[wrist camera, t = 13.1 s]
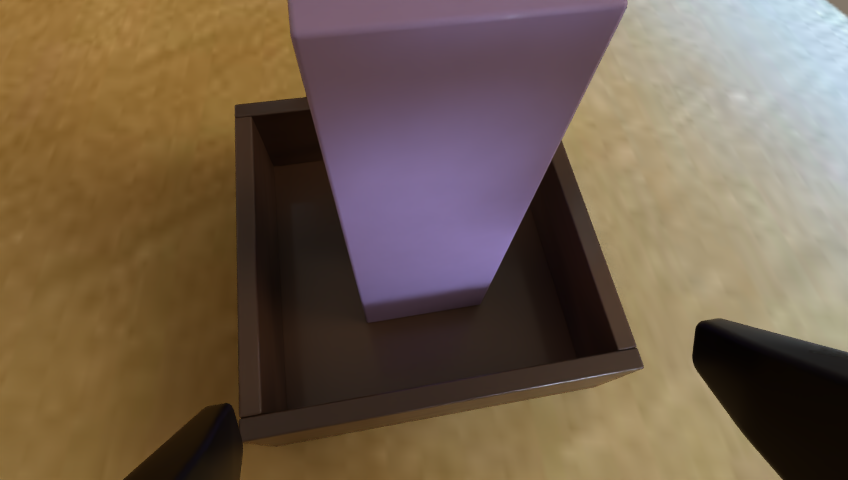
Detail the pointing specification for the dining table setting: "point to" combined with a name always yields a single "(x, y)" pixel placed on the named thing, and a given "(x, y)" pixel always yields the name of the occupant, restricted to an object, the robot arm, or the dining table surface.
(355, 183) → the block
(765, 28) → the dining table surface
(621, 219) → the dining table surface
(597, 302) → the tray
